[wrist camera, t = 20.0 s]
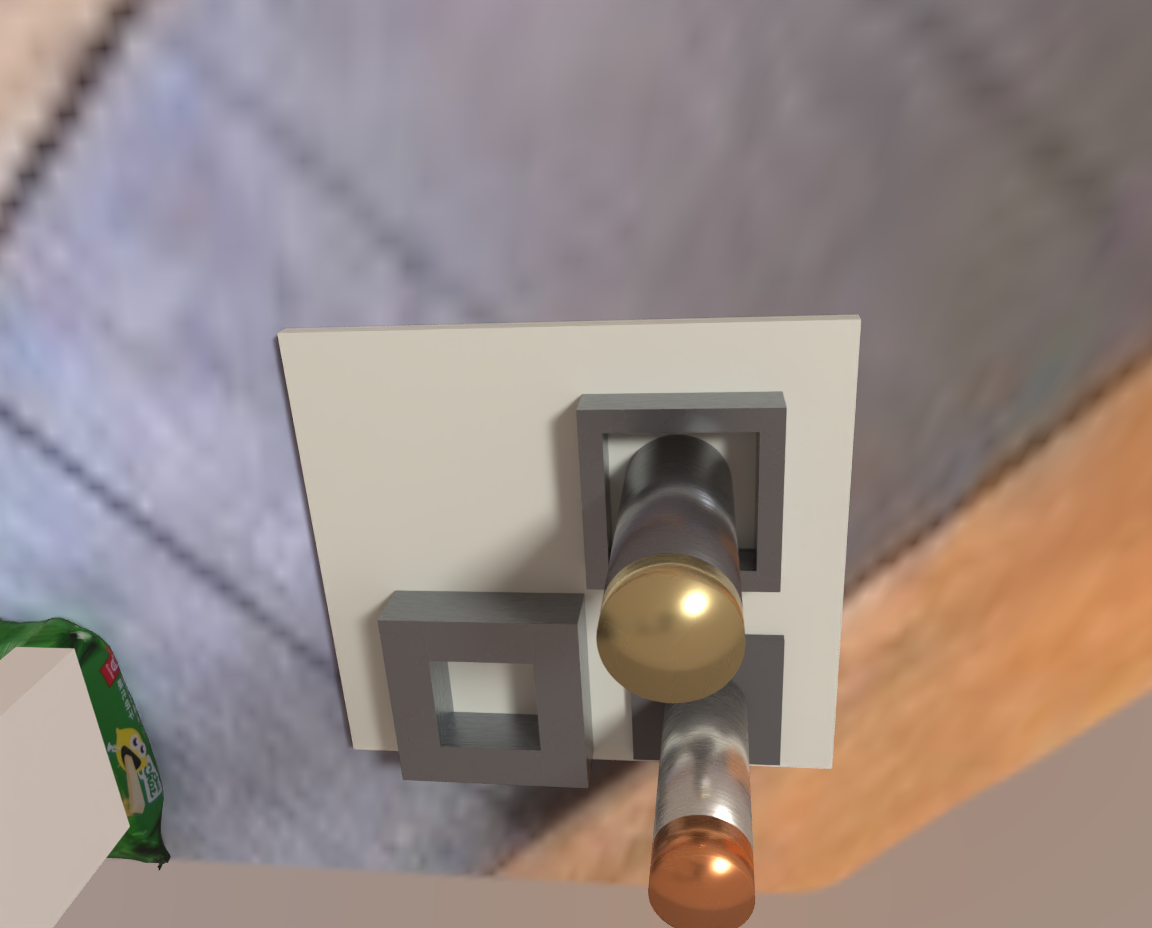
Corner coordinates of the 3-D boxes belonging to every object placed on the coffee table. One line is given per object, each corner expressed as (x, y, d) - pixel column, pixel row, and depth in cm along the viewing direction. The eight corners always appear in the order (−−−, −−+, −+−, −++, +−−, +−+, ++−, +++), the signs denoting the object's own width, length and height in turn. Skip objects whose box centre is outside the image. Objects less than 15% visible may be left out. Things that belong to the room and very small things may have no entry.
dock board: (359, 739, 48) (353, 749, 47) (284, 328, 40) (277, 333, 39) (829, 757, 45) (831, 768, 44) (857, 314, 36) (861, 319, 36)
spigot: (622, 435, 39) (592, 576, 28) (732, 433, 38) (746, 577, 27) (626, 532, 41) (599, 700, 30) (731, 532, 40) (744, 705, 29)
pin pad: (634, 752, 45) (633, 759, 45) (629, 631, 43) (628, 637, 42) (779, 758, 44) (779, 765, 44) (783, 635, 42) (784, 641, 41)
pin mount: (418, 744, 47) (403, 779, 44) (395, 590, 43) (377, 620, 41) (593, 751, 46) (588, 788, 43) (584, 593, 42) (577, 624, 40)
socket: (591, 566, 42) (586, 589, 40) (581, 394, 38) (576, 409, 37) (776, 568, 40) (780, 592, 39) (782, 391, 37) (786, 407, 35)
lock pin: (661, 672, 43) (643, 855, 33) (744, 671, 42) (752, 857, 32) (668, 739, 44) (653, 934, 34) (749, 738, 43) (757, 937, 33)
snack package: (90, 828, 54) (31, 902, 49) (-13, 597, 48) (-91, 656, 43) (202, 825, 52) (153, 901, 48) (111, 588, 47) (45, 647, 42)
